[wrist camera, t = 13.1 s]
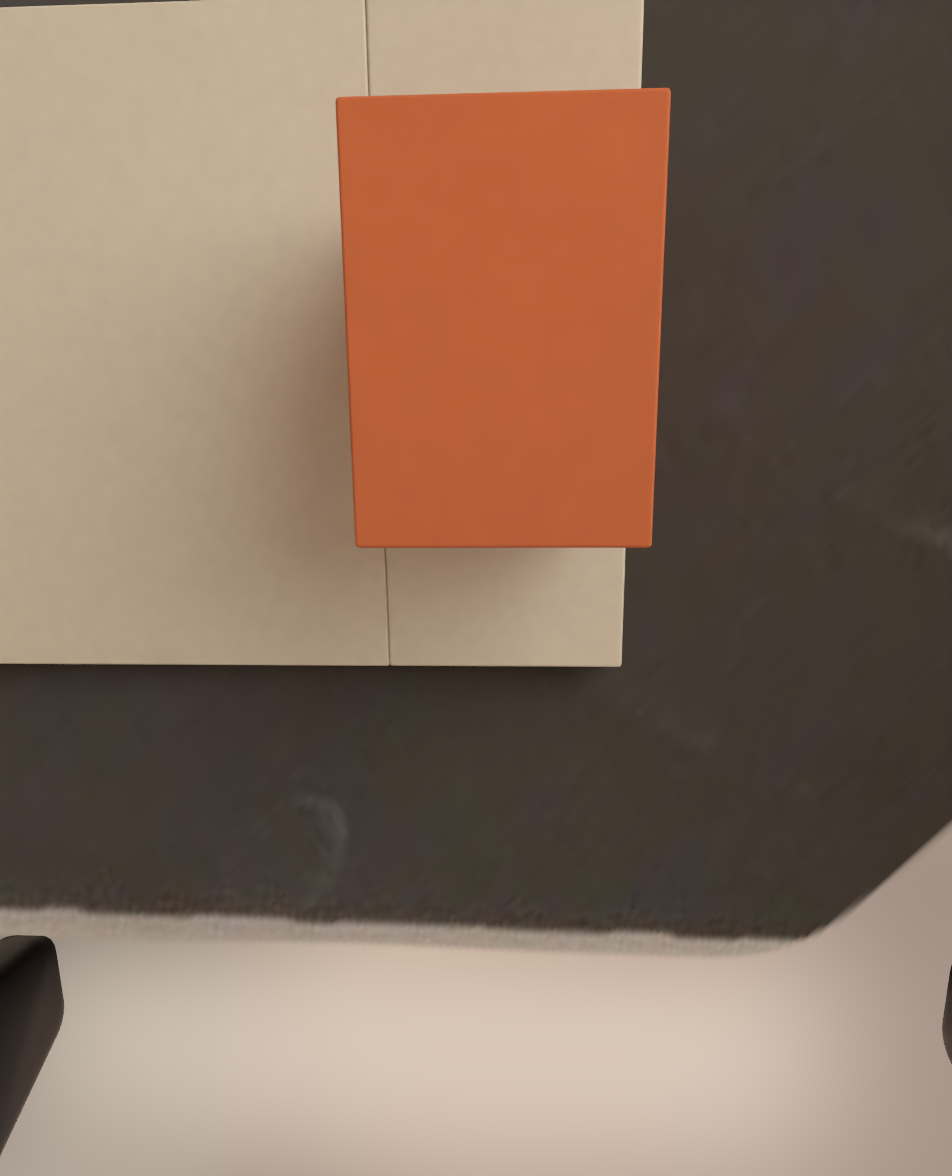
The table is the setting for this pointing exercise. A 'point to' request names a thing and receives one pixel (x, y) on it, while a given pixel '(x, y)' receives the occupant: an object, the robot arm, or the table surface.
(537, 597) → the base pad
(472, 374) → the orange block
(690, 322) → the table surface
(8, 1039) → the robot arm
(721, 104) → the table surface
